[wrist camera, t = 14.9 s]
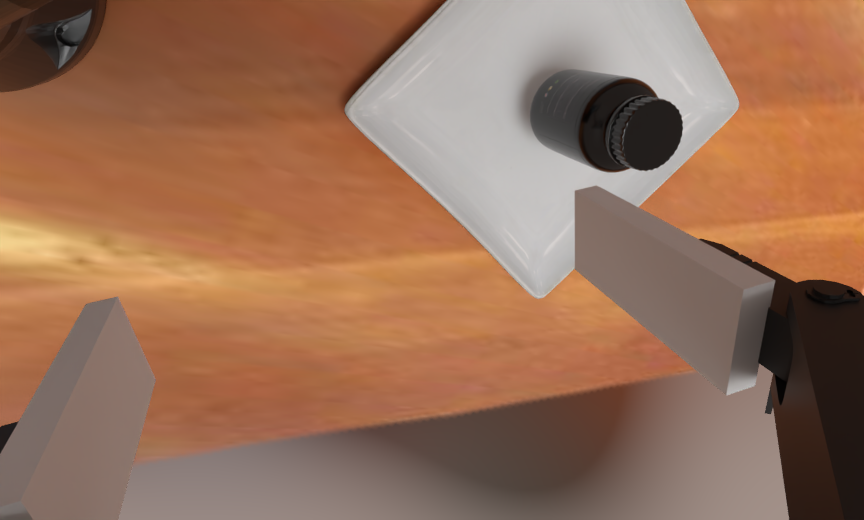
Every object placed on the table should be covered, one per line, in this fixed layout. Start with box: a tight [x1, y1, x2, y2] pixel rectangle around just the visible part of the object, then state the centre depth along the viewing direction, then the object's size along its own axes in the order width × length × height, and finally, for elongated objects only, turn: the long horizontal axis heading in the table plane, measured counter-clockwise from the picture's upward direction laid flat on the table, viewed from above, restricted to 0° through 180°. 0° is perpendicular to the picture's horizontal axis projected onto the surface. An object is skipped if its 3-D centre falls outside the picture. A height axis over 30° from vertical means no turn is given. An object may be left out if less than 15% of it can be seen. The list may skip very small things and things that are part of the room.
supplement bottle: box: [530, 69, 683, 173], centre depth 41 cm, size 7×7×12 cm
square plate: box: [344, 0, 739, 299], centre depth 48 cm, size 27×27×4 cm
